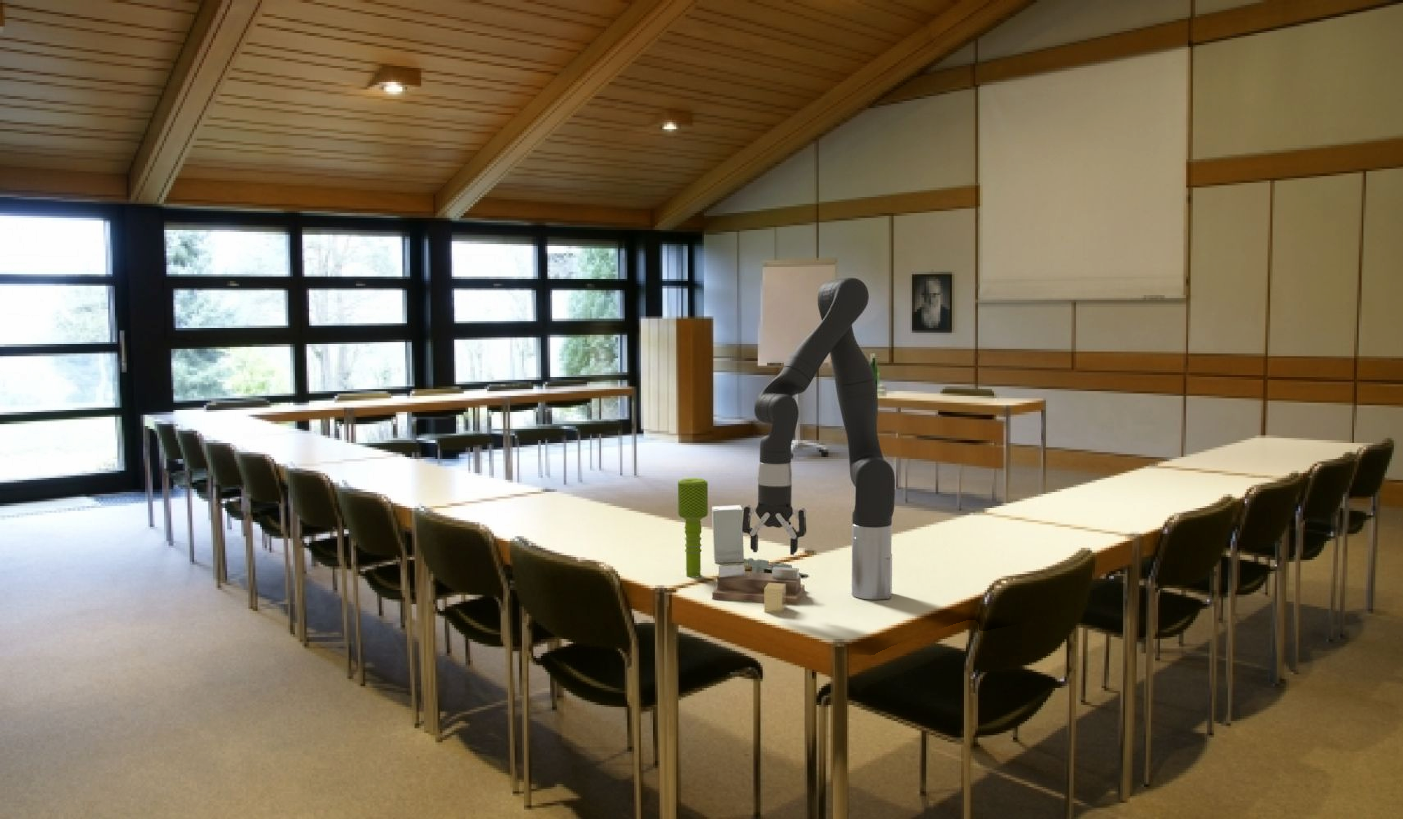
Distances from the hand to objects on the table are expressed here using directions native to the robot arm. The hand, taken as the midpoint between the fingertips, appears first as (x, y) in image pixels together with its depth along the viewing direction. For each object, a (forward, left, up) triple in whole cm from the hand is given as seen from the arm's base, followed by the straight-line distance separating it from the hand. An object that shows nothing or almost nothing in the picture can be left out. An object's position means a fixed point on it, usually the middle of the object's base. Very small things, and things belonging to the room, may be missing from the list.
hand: (773, 553), depth 229 cm
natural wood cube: (0, 0, -13) cm, 13 cm away
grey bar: (+6, -10, -9) cm, 14 cm away
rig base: (+6, -11, -13) cm, 18 cm away
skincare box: (+21, -42, -13) cm, 49 cm away
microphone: (+26, -25, -13) cm, 38 cm away
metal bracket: (+6, -29, -14) cm, 32 cm away
